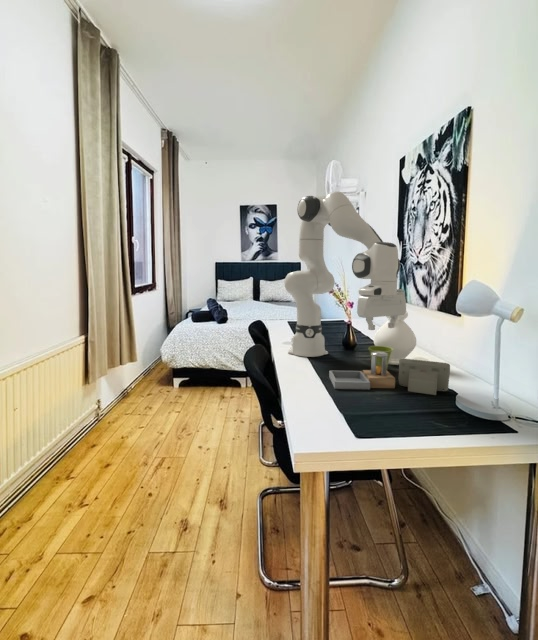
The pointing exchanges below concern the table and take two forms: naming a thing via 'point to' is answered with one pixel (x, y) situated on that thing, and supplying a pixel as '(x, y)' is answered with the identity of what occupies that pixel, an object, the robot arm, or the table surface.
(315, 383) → the table surface
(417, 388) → the digital clock
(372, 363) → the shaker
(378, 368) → the ball
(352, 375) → the tray
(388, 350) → the plant pot
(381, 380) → the stand
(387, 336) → the decorative vase
